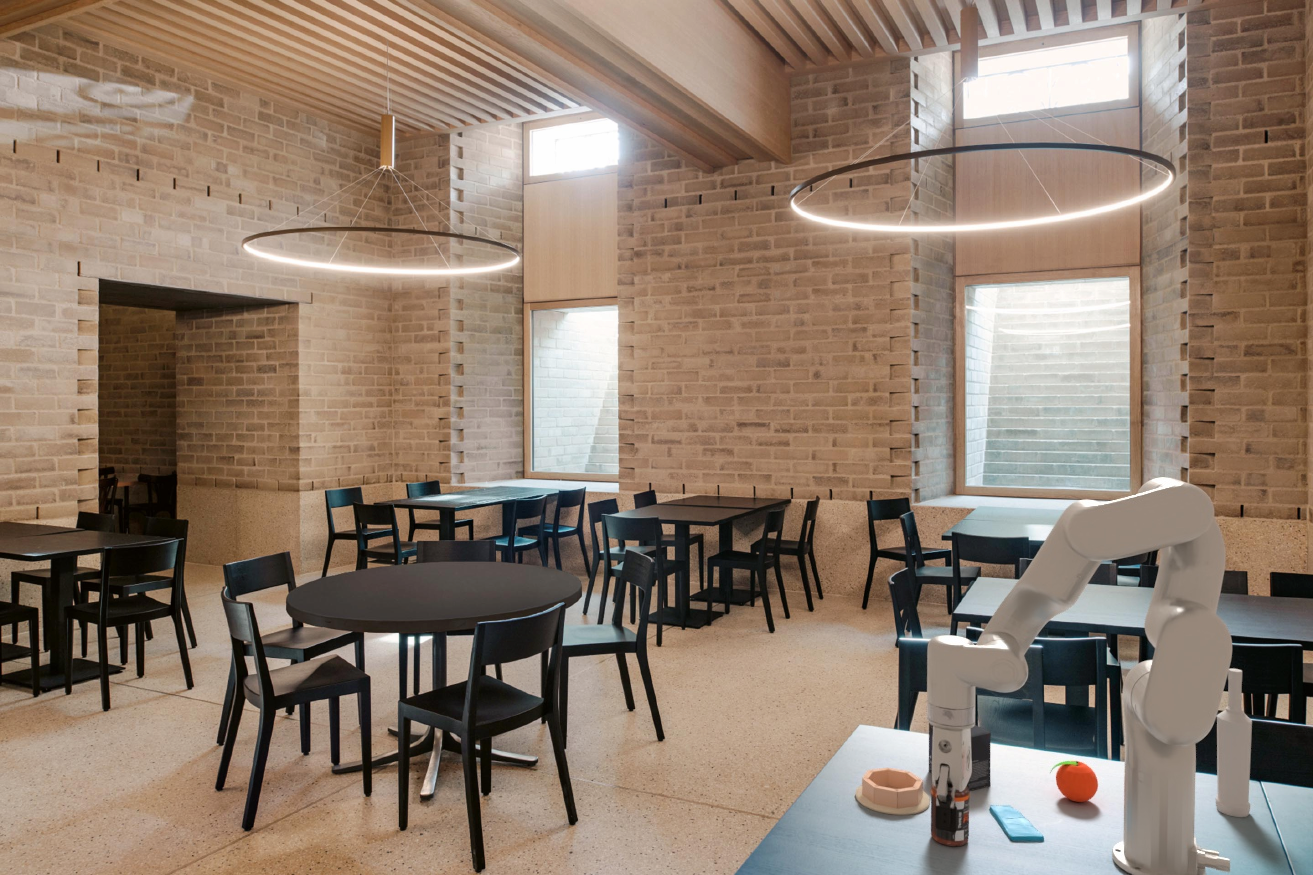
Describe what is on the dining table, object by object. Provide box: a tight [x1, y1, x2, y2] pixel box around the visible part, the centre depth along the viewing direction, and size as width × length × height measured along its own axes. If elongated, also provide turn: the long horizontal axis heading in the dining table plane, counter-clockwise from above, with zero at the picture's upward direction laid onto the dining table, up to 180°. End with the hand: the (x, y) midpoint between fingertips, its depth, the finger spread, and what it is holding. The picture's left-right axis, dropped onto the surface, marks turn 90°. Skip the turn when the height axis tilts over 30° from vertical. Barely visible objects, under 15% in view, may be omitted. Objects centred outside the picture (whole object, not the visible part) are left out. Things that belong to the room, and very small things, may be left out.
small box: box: [928, 722, 992, 792], centre depth 172 cm, size 11×6×10 cm, turn 25°
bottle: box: [1215, 668, 1253, 818], centre depth 158 cm, size 5×5×25 cm
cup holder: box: [855, 767, 931, 816], centre depth 163 cm, size 13×13×4 cm
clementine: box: [1049, 760, 1099, 803], centre depth 163 cm, size 8×7×7 cm
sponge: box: [988, 804, 1045, 842], centre depth 153 cm, size 2×12×6 cm
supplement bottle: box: [930, 783, 970, 847], centre depth 148 cm, size 6×6×11 cm
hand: (949, 820), depth 148 cm, fingers closed on supplement bottle, 6 cm apart
